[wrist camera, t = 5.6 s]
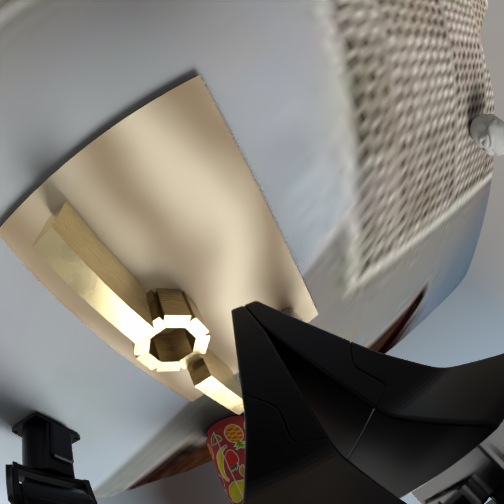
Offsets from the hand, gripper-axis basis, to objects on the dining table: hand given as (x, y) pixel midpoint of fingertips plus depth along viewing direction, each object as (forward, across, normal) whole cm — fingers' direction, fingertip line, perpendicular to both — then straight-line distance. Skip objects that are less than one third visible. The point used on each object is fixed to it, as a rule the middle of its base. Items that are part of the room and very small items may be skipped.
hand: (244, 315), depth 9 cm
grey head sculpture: (+12, -41, -2) cm, 43 cm away
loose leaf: (+11, +6, +1) cm, 12 cm away
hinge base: (+11, +2, +12) cm, 16 cm away
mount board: (+12, 0, +6) cm, 13 cm away
